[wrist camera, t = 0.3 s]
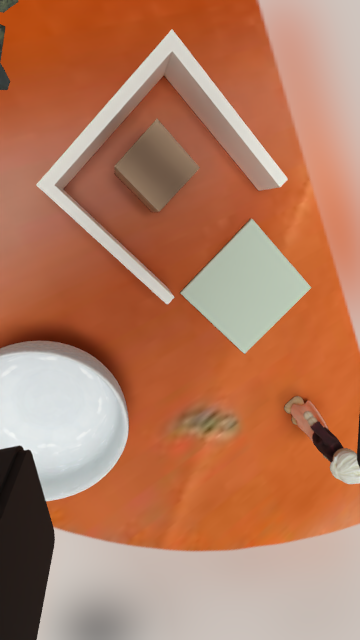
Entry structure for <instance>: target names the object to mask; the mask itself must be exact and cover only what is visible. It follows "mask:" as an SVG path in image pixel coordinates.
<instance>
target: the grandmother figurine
mask: <svg viewBox="0 0 360 640" xmlns="http://www.w3.org/2000/svg"><path fill="white" fill-rule="evenodd" d="M284 409H285V411H286V412H287V413H289V414H292V422H293V424H296V425H298V426H299V427H300V429H301V430H302V431H304V432H305V433H306V434H307V435H308V436H309V438H310V439H311V440H312V441H313V443H314V445H315V446H316V447H317V449H318V450H319V451H320V452H321V453H322V454H323V456H324V458H326V459H328V460H329V461H330V462H331V464H330V470H331V472H332V474H333V476H334V477H335V478H337V479H339V480H342V481H343V482H345V483H347V484H355V483H360V467H359V465H358V462H357V454H356V453H355V452H354V451H352V450H350V449H347V448H343V446H342V445H341V443H340V442H339V440H338V439H337V438H336V437H335V436H334V435H333V434H332V433H331V432H330V431H329V429H328V427H327V425H326V423H325V421H324V420H323V418H322V417H321V415H320V413H319V412H318V410H317V409H316V408H315V406H314V405H313V404H312V403H311V402H310V401H307V402H306V403H305V404H304V401H303V399H302V398H301V397H300V396H296V397H293V398H292V399H291V400H290V401H289V402H288V403H287V404H286V405H285V407H284Z"/></svg>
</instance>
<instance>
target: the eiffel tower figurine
mask: <svg viewBox="0 0 360 640" xmlns="http://www.w3.org/2000/svg"><path fill="white" fill-rule="evenodd" d="M17 2H18V0H0V12H3V13H4V12H5V11H6V10H8V9H9V8H10V7H11V6H13V5H14V4H16V3H17ZM4 33H5V26H3V25H1V24H0V60H1V54H2V47H3V40H4ZM9 83H10V80H9V78H8V76H7V74H6V72H5V70H4V68H3V67H2V65H1V63H0V90H8V86H9Z"/></svg>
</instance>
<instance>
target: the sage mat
mask: <svg viewBox="0 0 360 640" xmlns="http://www.w3.org/2000/svg"><path fill="white" fill-rule="evenodd" d="M310 288H311V287H310V286H309V284H308V283H307V282H306V281H305V280H304V279H303V277H302V276H301V275H300V274H299V273H298V272H297V270H296V269H295V268H294V267H293V266H292V265H291V264H290V262H289V261H288V260H287V259H286V258H285V257H284V255H283V254H282V253H281V252H280V251H279V250H278V248H277V247H276V246H275V245H274V244H273V243H272V241H271V240H270V239H269V238H268V237H267V236H266V234H265V233H264V232H263V231H262V230H261V229H260V227H259V226H258V225H257V224H256V223H255V222H254V220H253V219H250V220H249V221H248V222H247V223H246V224H245V225H244V226H243V227H242V228H241V229H240V230H239V232H238V233H237V234H236V235H235V236H234V237H233V238H232V239H231V240H230V241H229V242H228V243H227V244H226V245H225V246H224V247H223V248H222V249H221V250H220V251H219V252H218V253H217V254H216V255H215V257H214V258H213V259H212V260H211V261H210V262H209V263H208V264H207V265H206V266H205V267H204V268H203V269H202V270H201V271H200V272H199V273H198V274H197V275H196V276H195V277H194V278H193V279H192V280H191V282H190V283H189V284H188V285H187V286H186V287H185V288H184V289H183V290H182V291H181V292H180V293H181V294H182V295H183V296H184V297H185V298H186V299H187V300H188V301H189V302H190V303H191V304H192V305H193V306H194V307H195V308H196V309H197V310H199V311H200V312H201V313H202V314H203V315H204V316H205V317H206V318H207V319H208V320H209V321H210V322H211V323H212V324H213V325H214V326H215V327H216V328H218V329H219V330H220V331H221V332H222V333H223V334H224V335H225V336H226V337H227V338H228V339H229V340H230V341H231V342H232V343H233V344H234V345H236V346H237V347H238V348H239V349H240V350H241V351H242V352H243V353H244V354H245V353H246V352H247V351H248V350H249V349H250V348H251V347H252V346H253V345H254V344H255V343H256V342H257V341H258V340H259V339H260V338H261V337H262V336H263V335H264V334H265V333H266V332H267V331H268V330H269V329H270V328H271V327H272V326H273V325H274V324H275V323H276V322H277V321H278V320H279V319H280V318H281V317H282V316H283V315H284V314H285V313H286V312H287V311H288V310H289V309H290V308H291V307H292V306H293V305H294V304H295V303H296V302H297V301H298V300H299V299H300V298H301V297H302V296H303V295H304V294H305V293H306V292H307V291H308V290H309V289H310Z"/></svg>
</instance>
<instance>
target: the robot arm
mask: <svg viewBox="0 0 360 640" xmlns="http://www.w3.org/2000/svg"><path fill="white" fill-rule="evenodd" d="M357 462H358V465H359V467H360V416H359V433H358V449H357ZM54 538H55V537H54V529H53V525H52V521H51V518H50V514H49V511H48V507H47V504H46V500H45V497H44V493H43V490H42V486H41V483H40V480H39V476H38V473H37V469H36V466H35V462H34V459H33V455H32V452H31V451H30V450H24V449H23V447H22V446H20V445H19V446H14V447H9V448H4V449H0V640H36V639H37V634H38V628H39V623H40V617H41V613H42V607H43V602H44V597H45V591H46V586H47V581H48V575H49V570H50V565H51V559H52V554H53V549H54V540H55V539H54Z"/></svg>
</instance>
